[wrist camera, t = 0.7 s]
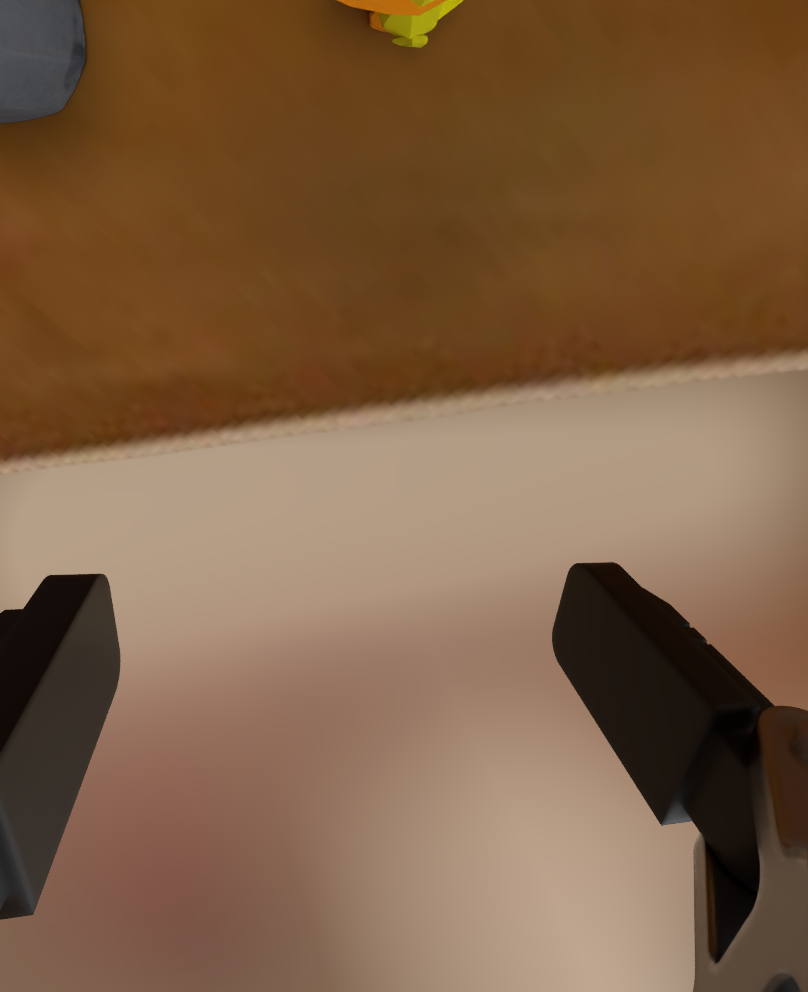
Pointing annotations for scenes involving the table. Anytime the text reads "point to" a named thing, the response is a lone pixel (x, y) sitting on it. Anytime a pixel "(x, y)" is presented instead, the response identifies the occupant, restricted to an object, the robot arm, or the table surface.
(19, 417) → the table surface
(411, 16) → the toy figure
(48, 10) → the moka pot
